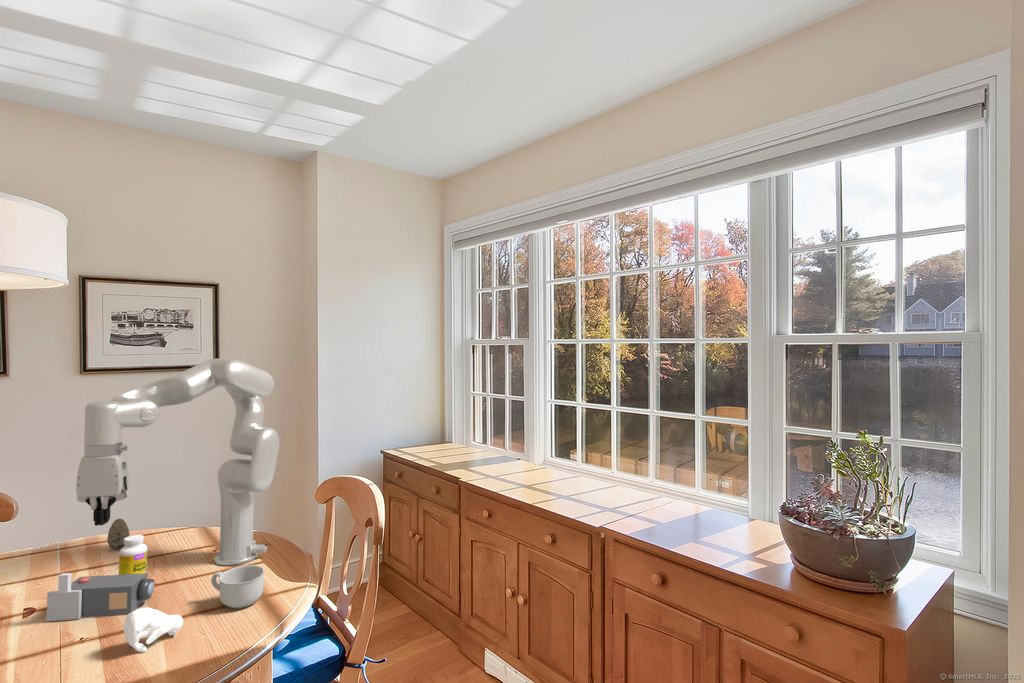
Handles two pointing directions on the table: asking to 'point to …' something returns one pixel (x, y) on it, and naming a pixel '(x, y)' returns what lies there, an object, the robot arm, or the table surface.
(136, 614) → the white figurine
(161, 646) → the table surface
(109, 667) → the table surface
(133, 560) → the supplement bottle
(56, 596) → the grey t-shaped piece
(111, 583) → the camera body
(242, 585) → the teacup
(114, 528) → the decorative egg
